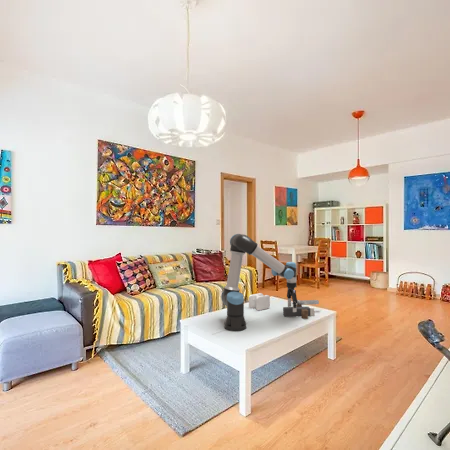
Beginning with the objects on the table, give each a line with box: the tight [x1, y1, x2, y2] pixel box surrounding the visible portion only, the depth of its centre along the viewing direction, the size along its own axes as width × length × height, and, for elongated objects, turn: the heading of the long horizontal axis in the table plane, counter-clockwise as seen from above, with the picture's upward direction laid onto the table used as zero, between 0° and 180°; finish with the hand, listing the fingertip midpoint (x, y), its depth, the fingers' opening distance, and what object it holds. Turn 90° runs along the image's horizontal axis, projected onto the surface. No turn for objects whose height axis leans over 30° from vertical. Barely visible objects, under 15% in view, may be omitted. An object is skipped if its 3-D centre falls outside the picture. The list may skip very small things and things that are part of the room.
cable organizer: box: [248, 292, 271, 311], centre depth 241 cm, size 15×11×12 cm
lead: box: [282, 306, 315, 318], centre depth 222 cm, size 23×5×6 cm, turn 93°
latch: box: [297, 299, 320, 306], centre depth 230 cm, size 3×18×3 cm, turn 94°
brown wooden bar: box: [296, 304, 309, 320], centre depth 222 cm, size 4×17×6 cm, turn 3°
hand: (292, 309), depth 222 cm, fingers open, 13 cm apart
